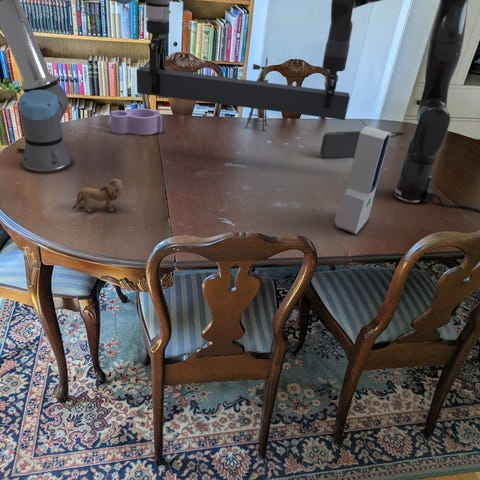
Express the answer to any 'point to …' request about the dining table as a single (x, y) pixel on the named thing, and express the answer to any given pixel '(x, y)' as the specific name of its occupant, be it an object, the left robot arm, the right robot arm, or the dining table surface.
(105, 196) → the lion figurine
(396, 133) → the sword
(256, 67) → the miniature windmill
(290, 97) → the bar
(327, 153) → the handheld gaming console
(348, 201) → the electronic device
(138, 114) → the purple lobed container
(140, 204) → the dining table surface
